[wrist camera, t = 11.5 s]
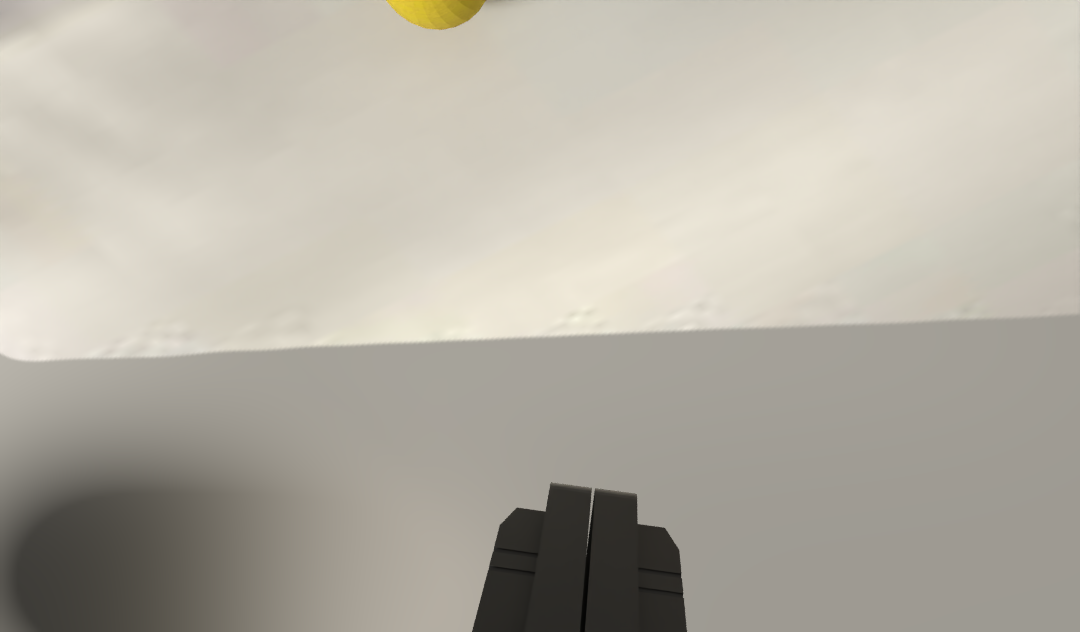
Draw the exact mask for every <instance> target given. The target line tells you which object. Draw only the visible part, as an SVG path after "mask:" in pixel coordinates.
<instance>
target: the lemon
mask: <svg viewBox="0 0 1080 632" xmlns="http://www.w3.org/2000/svg"><path fill="white" fill-rule="evenodd" d="M386 1H387V2H388V3H389V4H390V5H391V7H392V8H393V9H394V10H395V11H396V12H397V13H398V14H399V15H400V16H402V17H403V18H405V19H406V20H408V21H409V22H411V23H413V24H415V25H418V26H421V27H423V28H427V29H439V30H442V29H447V28H452V27H456V26H458V25H460V24H462V23H464V22H466V21H468V20H469V19H471V18H472V17H473V16H474V15H475V14H476V13H477V12H478V11H479V10H480V8H481V7H482V5H483V4H484V2H485V1H486V0H386Z"/></svg>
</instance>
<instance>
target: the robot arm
mask: <svg viewBox="0 0 1080 632" xmlns="http://www.w3.org/2000/svg"><path fill="white" fill-rule="evenodd" d="M591 490H592V488H588V487H580V486H573V485H565V484H557V483H551V484H550V490H549V495H548V501H547V507H546V512H544V511H536V510H530V509H523V508H516V509H515V510H514V511H513V512H512V513H511V514H510V515H509V516H508V518H506V519H505V521H504V522H503V523H502V524H501V525H500V527H499V531H498V535H497V539H496V542H495V546H494V552H493V554H492V558H491V561H490V566H489V570H488V573H487V577H486V581H485V584H484V588H483V592H482V596H481V600H480V604H479V607H478V611H477V615H476V619H475V623H474V627H473V631H472V632H687V629H686V618H685V607H684V598H683V587H682V578H681V564H680V554H679V549H678V547H677V546H676V544H675V543H674V542H673V540H672V538H671V537H670V535H669V534H668V532H667V531H666V529H665V528H662V527H655V526H647V525H640V524H637V494H633V493H626V492H619V491H611V490H604V489H595V493H594V500H593V508H592V515H591V523H590V531H589V538H588V527H589V515H590V503H591ZM587 539H588V546H587ZM586 551H587V554H586Z"/></svg>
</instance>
